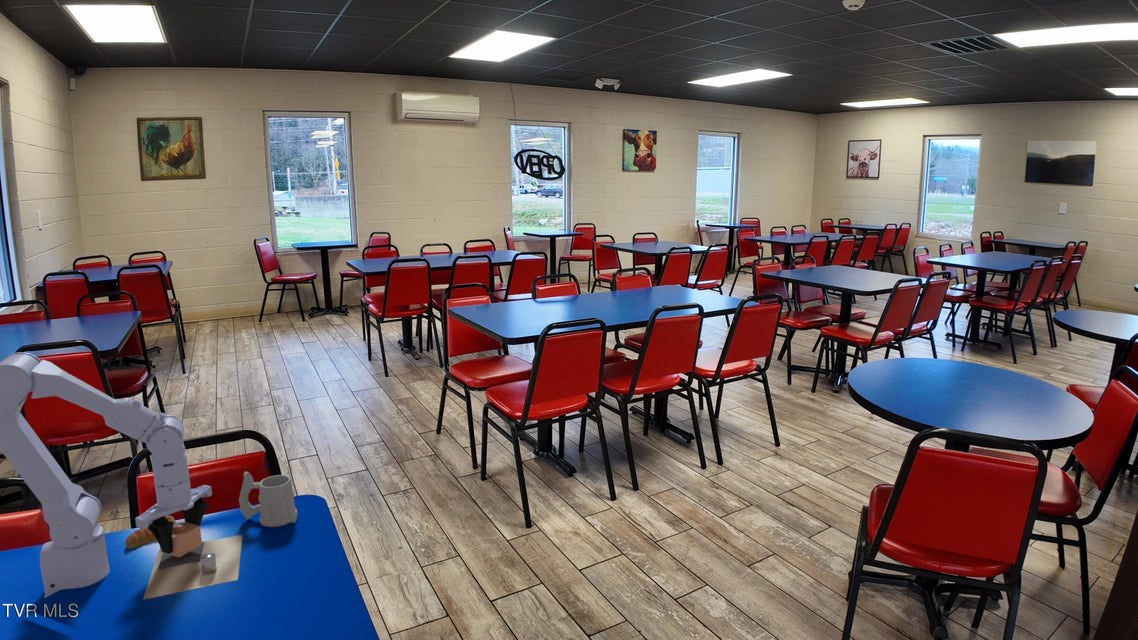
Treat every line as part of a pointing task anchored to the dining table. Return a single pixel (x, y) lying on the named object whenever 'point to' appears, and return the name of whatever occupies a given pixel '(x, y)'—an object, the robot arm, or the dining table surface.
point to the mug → (270, 500)
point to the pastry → (143, 536)
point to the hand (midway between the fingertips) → (180, 544)
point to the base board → (197, 569)
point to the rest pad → (181, 558)
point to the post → (208, 563)
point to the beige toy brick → (185, 538)
